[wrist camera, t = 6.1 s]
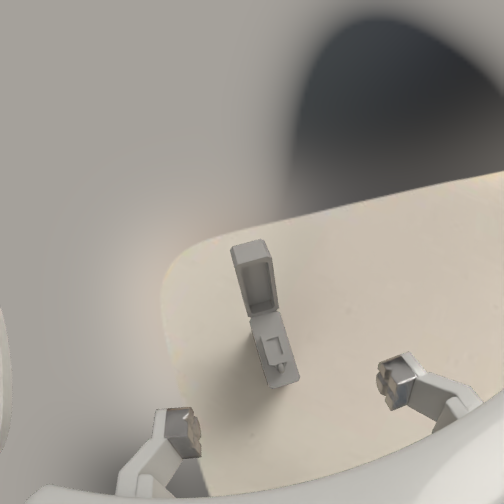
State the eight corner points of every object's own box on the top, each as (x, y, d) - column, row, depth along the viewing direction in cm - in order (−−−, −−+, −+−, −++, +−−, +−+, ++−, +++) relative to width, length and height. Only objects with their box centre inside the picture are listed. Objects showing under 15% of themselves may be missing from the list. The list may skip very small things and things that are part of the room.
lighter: (293, 378, 19) (312, 382, 11) (268, 386, 19) (272, 395, 11) (263, 283, 21) (263, 232, 14) (240, 289, 21) (227, 242, 14)
